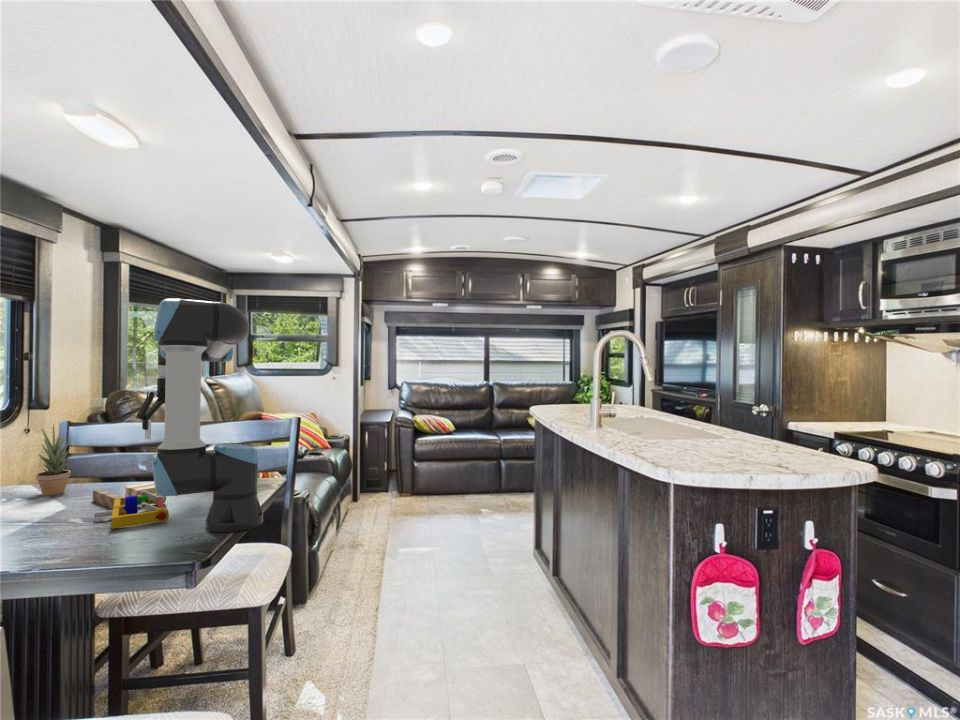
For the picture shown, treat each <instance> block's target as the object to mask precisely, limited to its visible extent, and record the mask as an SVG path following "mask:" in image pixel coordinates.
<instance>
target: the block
mask: <svg viewBox="0 0 960 720" xmlns="http://www.w3.org/2000/svg"><path fill="white" fill-rule="evenodd" d="M124 488H125V489H124V490H125V493H124V494H125V496H124V497H129V496H137V495H141V491H143V490H145V491H147V492H149V493H152V494H154V493H157V492H156V488H155V483H154V481H151V482H146V483H138V484H134V485H127V486H125V487H124Z"/></svg>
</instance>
